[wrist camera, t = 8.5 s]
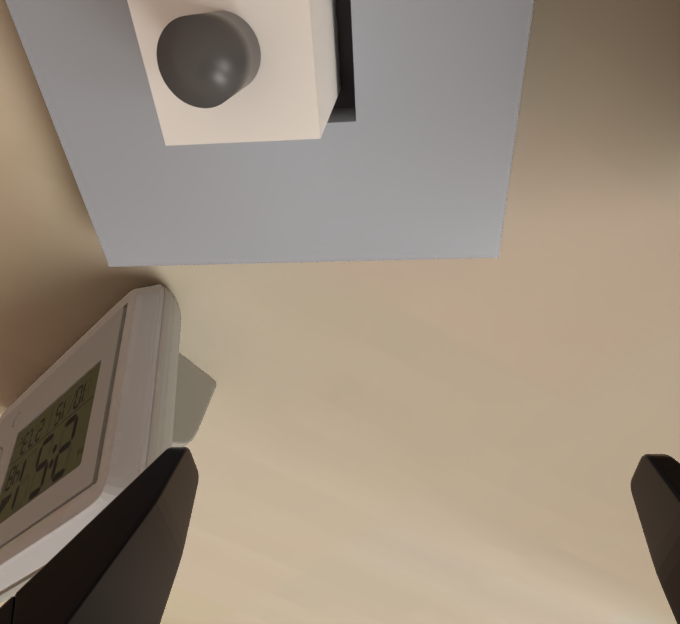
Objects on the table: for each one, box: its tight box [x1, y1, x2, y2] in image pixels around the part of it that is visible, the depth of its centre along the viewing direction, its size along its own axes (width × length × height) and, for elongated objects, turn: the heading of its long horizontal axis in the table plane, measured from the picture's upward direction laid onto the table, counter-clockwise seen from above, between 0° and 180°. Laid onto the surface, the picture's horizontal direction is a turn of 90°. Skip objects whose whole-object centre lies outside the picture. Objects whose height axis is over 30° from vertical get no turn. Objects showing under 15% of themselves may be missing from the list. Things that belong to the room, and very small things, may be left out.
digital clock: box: [0, 284, 216, 602], centre depth 23 cm, size 16×9×11 cm, turn 120°
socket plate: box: [5, 0, 534, 267], centre depth 16 cm, size 16×16×2 cm
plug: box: [127, 0, 341, 146], centre depth 13 cm, size 4×4×9 cm
